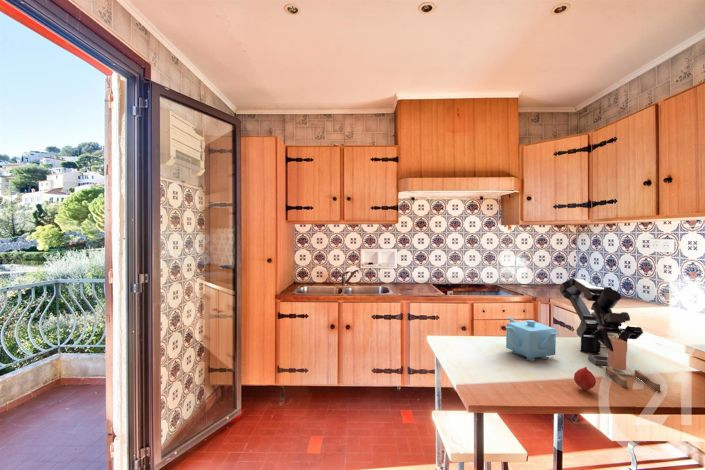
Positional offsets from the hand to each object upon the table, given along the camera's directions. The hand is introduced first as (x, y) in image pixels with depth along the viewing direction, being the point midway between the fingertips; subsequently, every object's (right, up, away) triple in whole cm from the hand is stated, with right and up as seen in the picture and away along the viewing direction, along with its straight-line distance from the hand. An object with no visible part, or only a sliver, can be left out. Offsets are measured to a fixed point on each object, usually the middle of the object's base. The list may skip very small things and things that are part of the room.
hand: (619, 351), depth 117 cm
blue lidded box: (-26, -7, +15) cm, 31 cm away
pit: (+2, -8, +8) cm, 12 cm away
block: (0, -7, +1) cm, 7 cm away
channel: (-2, -8, -7) cm, 11 cm away
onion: (-23, -8, -14) cm, 28 cm away
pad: (0, -8, +1) cm, 8 cm away
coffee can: (+19, -8, +31) cm, 37 cm away
